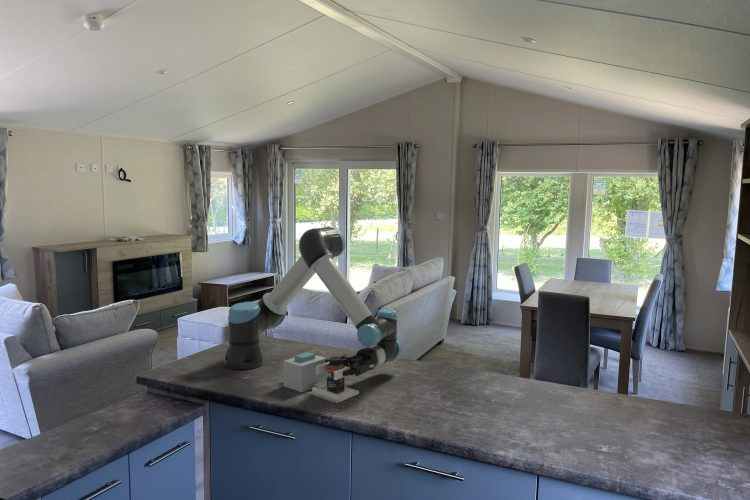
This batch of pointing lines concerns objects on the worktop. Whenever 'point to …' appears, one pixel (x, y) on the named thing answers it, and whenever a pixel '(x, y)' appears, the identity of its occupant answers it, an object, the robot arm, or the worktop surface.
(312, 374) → the white two-part device
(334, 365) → the supplement bottle
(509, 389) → the worktop surface
